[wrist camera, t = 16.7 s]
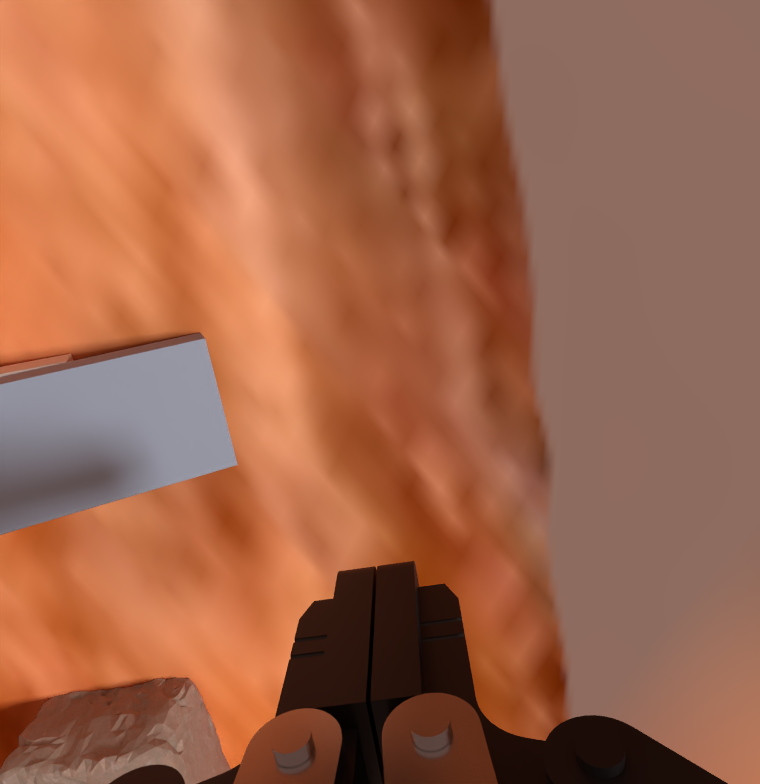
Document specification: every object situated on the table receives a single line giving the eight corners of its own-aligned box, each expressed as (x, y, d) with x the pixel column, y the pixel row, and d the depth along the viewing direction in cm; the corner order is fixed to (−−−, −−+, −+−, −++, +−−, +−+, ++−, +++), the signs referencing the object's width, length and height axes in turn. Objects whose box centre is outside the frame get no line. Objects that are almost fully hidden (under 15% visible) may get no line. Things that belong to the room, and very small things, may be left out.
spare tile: (237, 464, 23) (-61, 552, 20) (230, 449, 25) (-44, 528, 22) (205, 338, 22) (-120, 411, 19) (199, 332, 24) (-97, 398, 20)
